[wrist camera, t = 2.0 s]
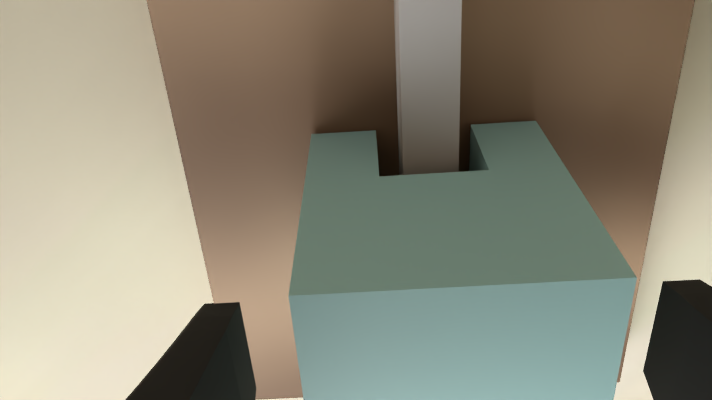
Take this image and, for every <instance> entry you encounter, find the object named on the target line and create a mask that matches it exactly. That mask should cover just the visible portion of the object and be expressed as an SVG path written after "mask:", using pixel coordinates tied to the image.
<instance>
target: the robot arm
mask: <svg viewBox="0 0 712 400" xmlns="http://www.w3.org/2000/svg"><path fill="white" fill-rule="evenodd" d="M643 372H644V374H645V377H646V380H647V383H648V385H649V388H650V391H651V394H652V397H653V399H654V400H712V287H711V286H709V285H708V284H706V283H704V282H703V281H701V280H683V281H663V284H662V288H661V293H660V297H659V302H658V306H657V311H656V315H655V320H654V324H653V329H652V333H651V338H650V343H649V347H648V352H647V356H646V361H645V365H644V370H643ZM255 397H256V383H255V378H254V373H253V368H252V363H251V358H250V353H249V348H248V342H247V337H246V332H245V327H244V322H243V317H242V312H241V307H240V302H232V303H211V304H204V305H203V306H202V307H201V308H200V309H199V311H198V312H197V313H196V314H195V316H194V317H193V318H192V319H191V321H190V322H189V323H188V325H187V326H186V327H185V328H184V330H183V331H182V332H181V333H180V335H179V336H178V337H177V338H176V340H175V341H174V342H173V344H172V345H171V346H170V347H169V349H168V350H167V351H166V352H165V353H164V355H163V356H162V357H161V358H160V360H159V361H158V362H157V363H156V365H155V366H154V367H153V368H152V369H151V370H150V372H149V373H148V374H147V375H146V376H145V378H144V379H143V380H142V381H141V382H140V383H139V385H138V386H137V387H136V388H135V389H134V391H133V392H132V393H131V394H130V395H129V396H128V397H127V399H126V400H255Z"/></svg>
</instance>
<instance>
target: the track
mask: <svg viewBox="0 0 712 400" xmlns="http://www.w3.org/2000/svg"><path fill="white" fill-rule="evenodd" d="M694 2H695V0H147V4H148V9H149V13H150V18H151V22H152V27H153V31H154V36H155V40H156V45H157V49H158V54H159V58H160V63H161V67H162V72H163V76H164V81H165V85H166V90H167V94H168V99H169V103H170V108H171V112H172V117H173V121H174V126H175V130H176V135H177V139H178V144H179V148H180V153H181V157H182V162H183V166H184V171H185V175H186V180H187V184H188V189H189V193H190V198H191V202H192V207H193V211H194V216H195V220H196V225H197V229H198V234H199V238H200V243H201V247H202V252H203V256H204V261H205V265H206V270H207V274H208V279H209V283H210V288H211V292H212V297H213V301H214V303H232V302H240V307H241V312H242V317H243V322H244V327H245V332H246V337H247V342H248V348H249V353H250V358H251V363H252V368H253V373H254V378H255V383H256V397H255V400H256V399H277V398H298V397H303V392H302V385H301V378H300V371H299V365H298V358H297V351H296V344H295V337H294V331H293V324H292V317H291V310H290V303H289V297H288V295H289V288H290V281H291V274H292V267H293V260H294V253H295V246H296V239H297V232H298V225H299V218H300V211H301V204H302V197H303V190H304V183H305V176H306V169H307V162H308V155H309V148H310V141H311V134H322V133H339V132H355V131H372V130H376V139H377V153H378V166H379V176H395V175H412V174H429V173H446V172H464V171H469V162H470V126H471V125H472V124H489V123H505V122H522V121H536V122H537V123H538V125H539V126H540V128H541V129H542V131H543V133H544V134H545V136H546V137H547V139H548V140H549V142H550V143H551V145H552V147H553V148H554V150H555V151H556V153H557V154H558V156H559V157H560V159H561V160H562V162H563V164H564V165H565V167H566V168H567V170H568V171H569V173H570V174H571V176H572V178H573V179H574V181H575V182H576V184H577V185H578V187H579V188H580V190H581V191H582V193H583V195H584V196H585V198H586V199H587V201H588V202H589V204H590V205H591V207H592V209H593V210H594V212H595V213H596V215H597V216H598V218H599V219H600V221H601V222H602V224H603V226H604V227H605V229H606V230H607V232H608V233H609V235H610V236H611V238H612V240H613V241H614V243H615V244H616V246H617V247H618V249H619V250H620V252H621V254H622V255H623V257H624V258H625V260H626V261H627V263H628V264H629V266H630V267H631V269H632V271H633V272H634V274H635V275H636V277H637V280H636V285H635V291H634V296H633V301H632V306H631V311H630V316H629V321H628V327H627V332H626V337H625V342H624V347H623V352H622V358H621V363H620V368H619V373H618V378H617V382H620V377H621V372H622V367H623V362H624V357H625V352H626V346H627V341H628V336H629V331H630V326H631V321H632V316H633V311H634V306H635V301H636V296H637V291H638V286H639V281H640V275H641V270H642V265H643V260H644V255H645V250H646V245H647V240H648V235H649V230H650V225H651V220H652V215H653V210H654V204H655V199H656V194H657V189H658V184H659V179H660V174H661V169H662V164H663V159H664V154H665V149H666V144H667V139H668V133H669V128H670V123H671V118H672V113H673V108H674V103H675V98H676V93H677V88H678V83H679V78H680V73H681V68H682V62H683V57H684V52H685V47H686V42H687V37H688V32H689V27H690V22H691V17H692V12H693V7H694Z"/></svg>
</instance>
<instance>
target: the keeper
mask: <svg viewBox="0 0 712 400" xmlns="http://www.w3.org/2000/svg"><path fill="white" fill-rule="evenodd" d="M636 280H637V277H636V275H635V274H634V272H633V271H632V269H631V267H630V266H629V264H628V263H627V261H626V260H625V258H624V257H623V255H622V254H621V252H620V250H619V249H618V247H617V246H616V244H615V243H614V241H613V240H612V238H611V236H610V235H609V233H608V232H607V230H606V229H605V227H604V226H603V224H602V222H601V221H600V219H599V218H598V216H597V215H596V213H595V212H594V210H593V209H592V207H591V205H590V204H589V202H588V201H587V199H586V198H585V196H584V195H583V193H582V191H581V190H580V188H579V187H578V185H577V184H576V182H575V181H574V179H573V178H572V176H571V174H570V173H569V171H568V170H567V168H566V167H565V165H564V164H563V162H562V160H561V159H560V157H559V156H558V154H557V153H556V151H555V150H554V148H553V147H552V145H551V143H550V142H549V140H548V139H547V137H546V136H545V134H544V133H543V131H542V129H541V128H540V126H539V125H538V123H537V122H536V121H522V122H505V123H489V124H472V125H471V126H470V162H469V171H464V172H446V173H429V174H412V175H395V176H379V166H378V153H377V139H376V130H372V131H355V132H339V133H322V134H311V141H310V148H309V155H308V162H307V169H306V176H305V183H304V190H303V197H302V204H301V211H300V218H299V225H298V232H297V239H296V246H295V253H294V260H293V267H292V274H291V281H290V288H289V295H288V297H289V303H290V310H291V317H292V324H293V331H294V337H295V344H296V351H297V358H298V365H299V371H300V378H301V385H302V392H303V399H304V400H613V399H614V394H615V388H616V383H617V378H618V373H619V368H620V363H621V358H622V352H623V347H624V342H625V337H626V332H627V327H628V321H629V316H630V311H631V306H632V301H633V296H634V291H635V285H636Z"/></svg>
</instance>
